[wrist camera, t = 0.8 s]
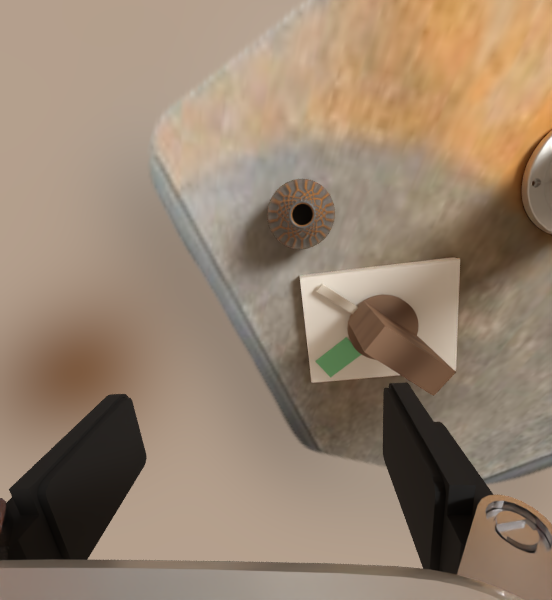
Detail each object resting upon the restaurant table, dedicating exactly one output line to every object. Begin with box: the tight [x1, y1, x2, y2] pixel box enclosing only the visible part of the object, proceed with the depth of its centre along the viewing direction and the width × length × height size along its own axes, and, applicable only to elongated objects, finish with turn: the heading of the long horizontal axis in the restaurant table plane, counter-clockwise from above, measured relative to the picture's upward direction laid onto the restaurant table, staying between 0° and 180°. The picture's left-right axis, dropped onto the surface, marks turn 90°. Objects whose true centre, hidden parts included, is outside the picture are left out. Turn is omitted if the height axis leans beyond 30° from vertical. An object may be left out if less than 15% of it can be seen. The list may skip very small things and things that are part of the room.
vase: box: [267, 179, 335, 249], centre depth 29 cm, size 7×7×9 cm
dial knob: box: [317, 284, 456, 396], centre depth 30 cm, size 13×8×9 cm, turn 57°
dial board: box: [300, 257, 460, 383], centre depth 36 cm, size 18×14×2 cm
